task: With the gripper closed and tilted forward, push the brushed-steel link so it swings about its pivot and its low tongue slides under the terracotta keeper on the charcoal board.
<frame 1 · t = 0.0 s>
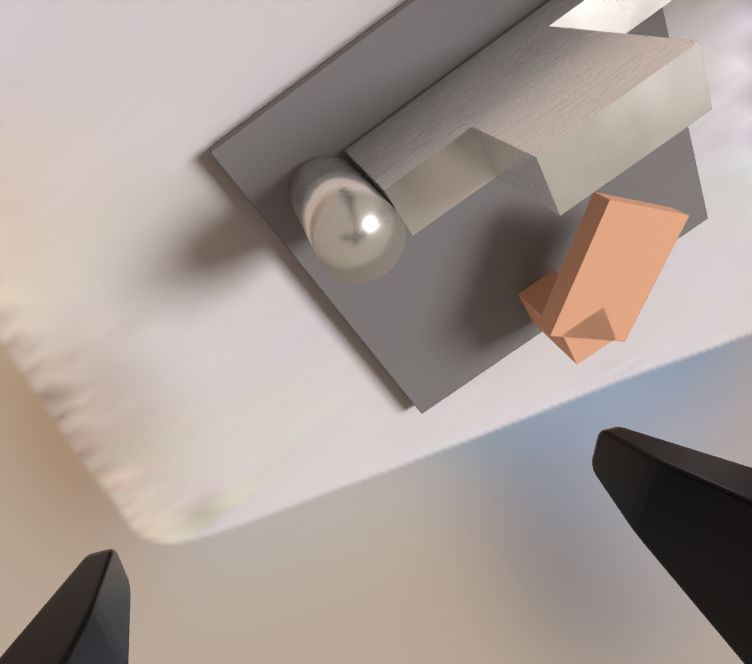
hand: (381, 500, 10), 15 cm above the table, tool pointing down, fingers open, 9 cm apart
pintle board: (321, 184, 22), on the table
link: (516, 117, 17), point 5 cm above the table, hinge at 0.0°
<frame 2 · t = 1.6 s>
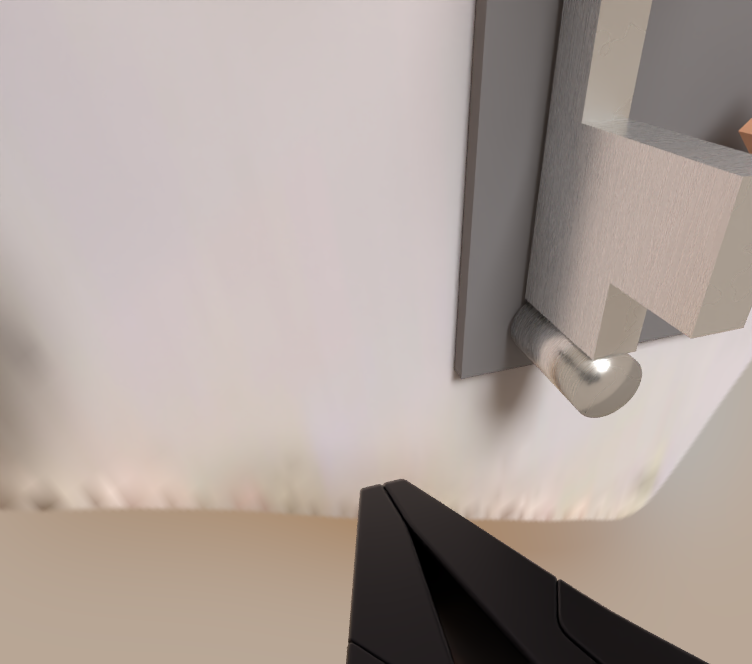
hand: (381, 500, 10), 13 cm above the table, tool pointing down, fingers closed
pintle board: (527, 311, 26), on the table
link: (630, 228, 18), point 5 cm above the table, hinge at 0.0°
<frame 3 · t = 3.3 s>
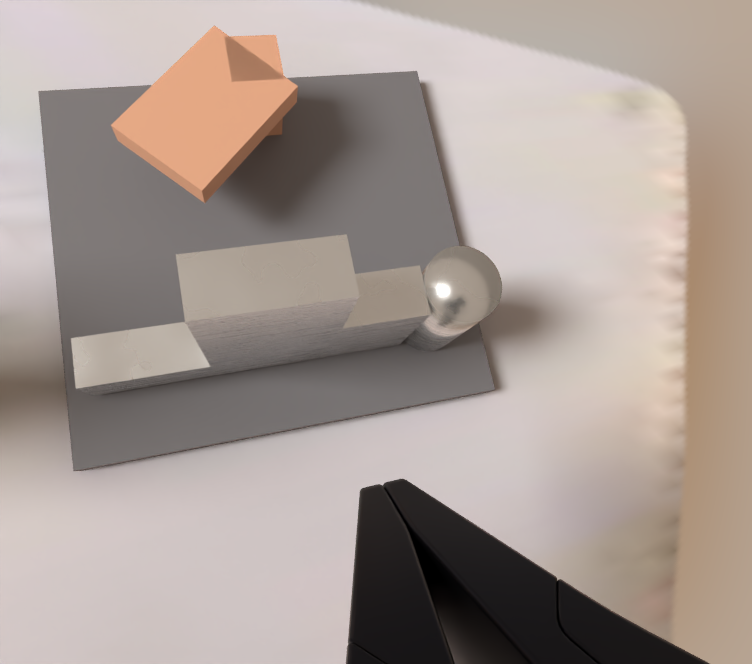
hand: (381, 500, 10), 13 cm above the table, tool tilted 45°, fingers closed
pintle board: (419, 325, 25), on the table
link: (290, 314, 19), point 5 cm above the table, hinge at 0.0°
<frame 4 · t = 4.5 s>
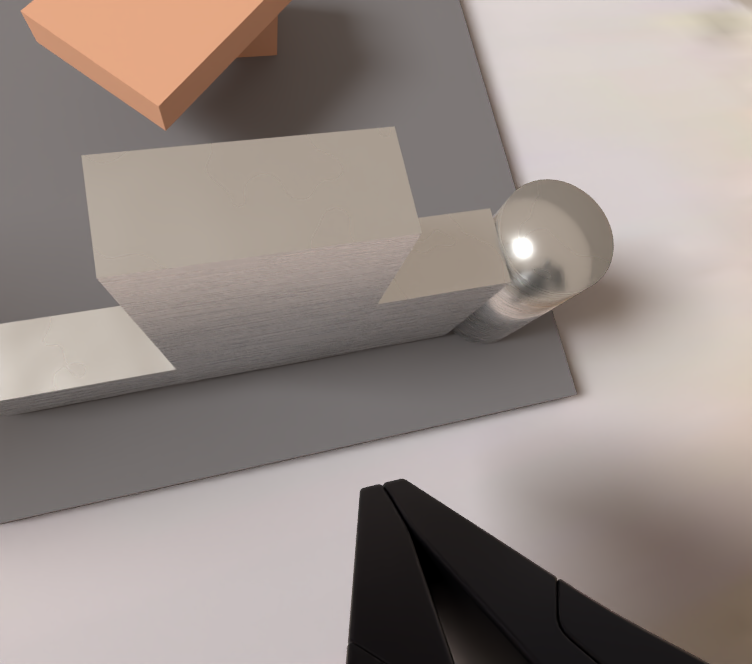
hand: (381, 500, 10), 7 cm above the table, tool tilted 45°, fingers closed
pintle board: (467, 309, 19), on the table
link: (294, 285, 12), point 5 cm above the table, hinge at 0.0°
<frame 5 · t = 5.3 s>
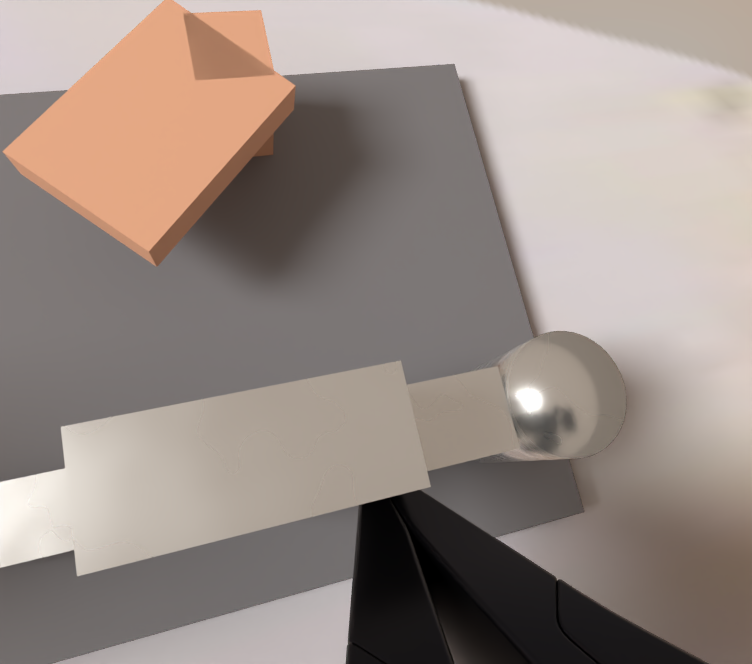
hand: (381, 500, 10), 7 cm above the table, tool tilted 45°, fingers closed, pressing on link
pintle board: (471, 419, 18), on the table
link: (292, 456, 12), point 5 cm above the table, hinge at -0.1°, touching gripper
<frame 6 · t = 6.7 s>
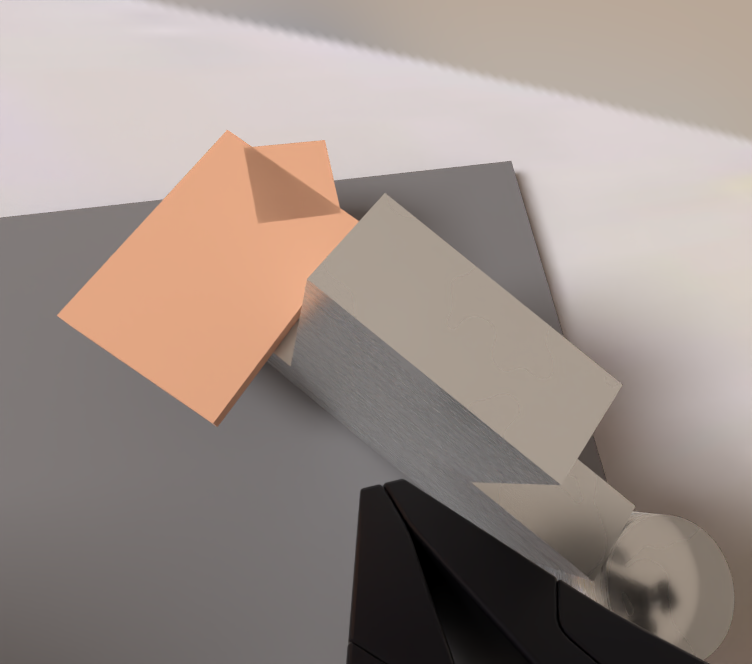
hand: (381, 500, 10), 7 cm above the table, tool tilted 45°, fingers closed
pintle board: (535, 549, 17), on the table
link: (427, 401, 12), point 5 cm above the table, hinge at -50.6°
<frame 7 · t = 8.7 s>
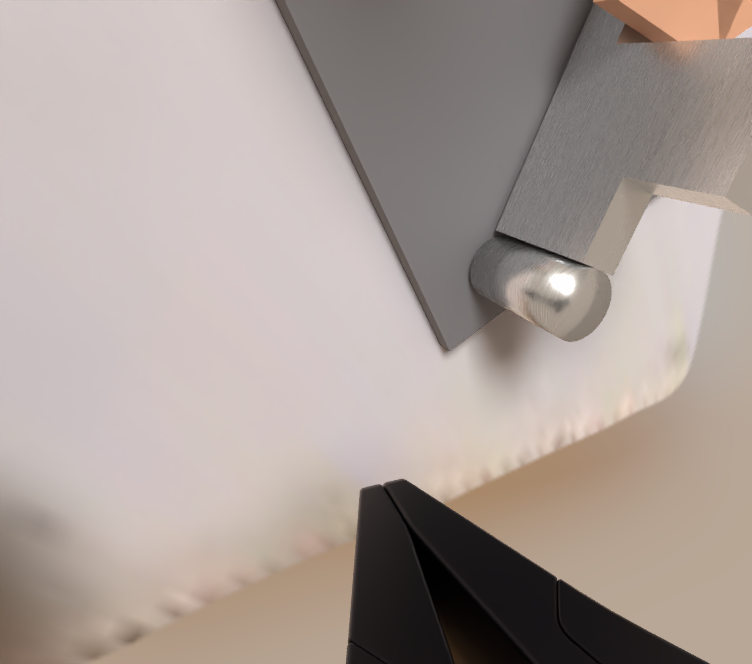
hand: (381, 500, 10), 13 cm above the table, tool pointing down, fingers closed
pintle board: (481, 259, 25), on the table
link: (643, 140, 20), point 5 cm above the table, hinge at -50.6°
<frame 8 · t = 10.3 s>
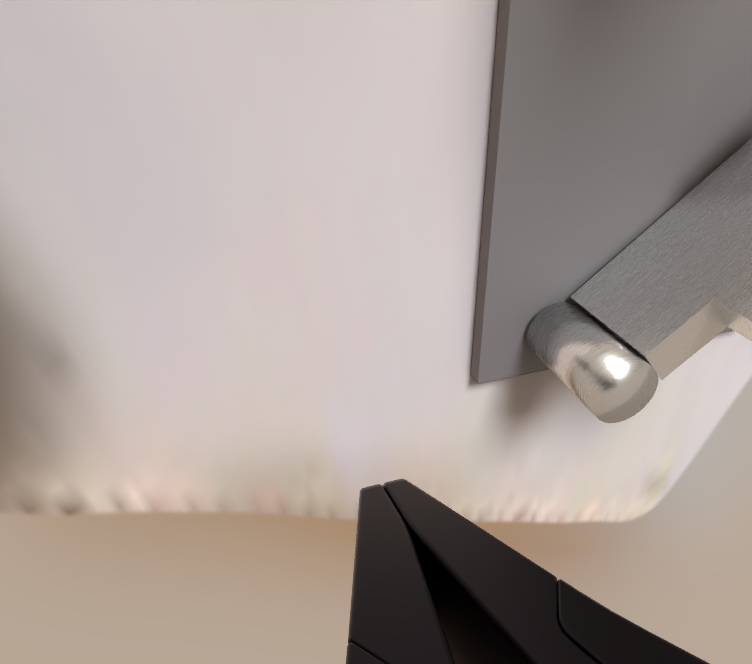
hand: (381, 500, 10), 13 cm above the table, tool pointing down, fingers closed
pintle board: (542, 317, 26), on the table
link: (740, 277, 21), point 5 cm above the table, hinge at -50.6°
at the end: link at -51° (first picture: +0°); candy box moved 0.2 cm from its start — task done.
